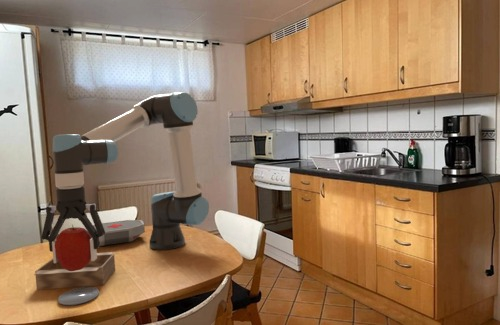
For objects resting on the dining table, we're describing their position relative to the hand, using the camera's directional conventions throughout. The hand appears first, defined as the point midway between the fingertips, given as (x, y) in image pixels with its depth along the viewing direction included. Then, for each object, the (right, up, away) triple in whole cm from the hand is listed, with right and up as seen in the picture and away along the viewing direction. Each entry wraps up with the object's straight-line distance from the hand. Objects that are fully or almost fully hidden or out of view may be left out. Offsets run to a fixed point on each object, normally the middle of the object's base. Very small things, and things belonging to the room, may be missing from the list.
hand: (75, 260), depth 108 cm
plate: (+1, -11, +1) cm, 12 cm away
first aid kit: (-10, -7, +59) cm, 61 cm away
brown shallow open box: (-7, -11, +16) cm, 20 cm away
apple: (0, -3, 0) cm, 3 cm away
